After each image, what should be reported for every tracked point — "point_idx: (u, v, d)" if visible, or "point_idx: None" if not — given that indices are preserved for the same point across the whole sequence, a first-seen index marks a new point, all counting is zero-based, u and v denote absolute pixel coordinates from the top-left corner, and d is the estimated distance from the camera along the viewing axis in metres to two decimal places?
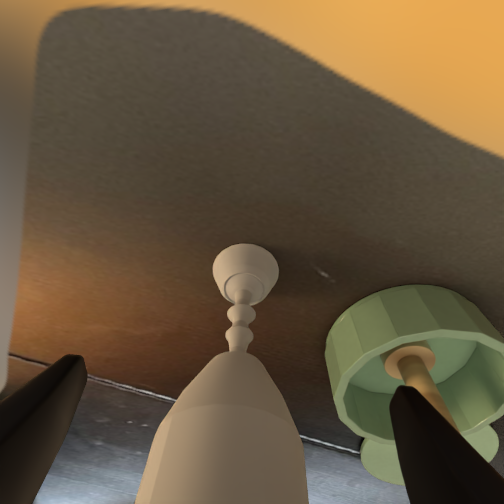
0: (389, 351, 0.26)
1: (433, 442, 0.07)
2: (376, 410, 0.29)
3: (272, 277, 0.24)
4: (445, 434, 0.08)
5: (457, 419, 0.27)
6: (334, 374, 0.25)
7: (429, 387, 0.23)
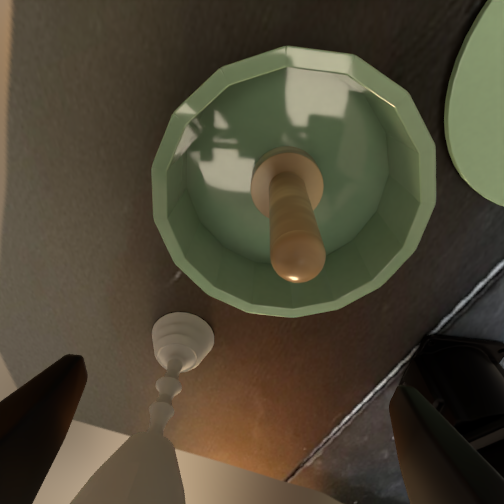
0: None
1: (433, 442, 0.07)
2: (384, 225, 0.18)
3: (173, 326, 0.24)
4: (445, 434, 0.08)
5: (393, 116, 0.14)
6: None
7: (269, 210, 0.15)
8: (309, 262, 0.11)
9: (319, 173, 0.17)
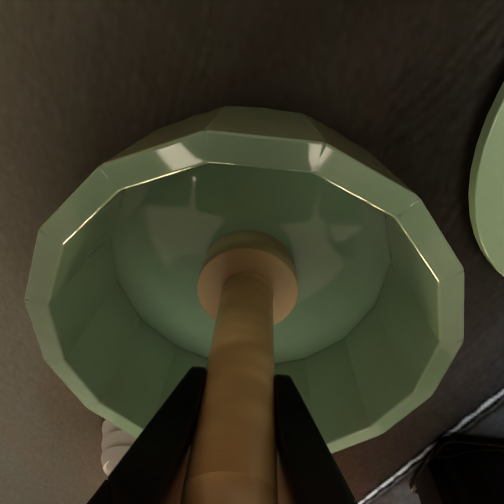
0: None
1: (283, 428, 0.07)
2: (386, 337, 0.13)
3: (122, 433, 0.20)
4: (297, 420, 0.08)
5: (394, 219, 0.09)
6: None
7: (210, 350, 0.10)
8: None
9: (291, 273, 0.12)
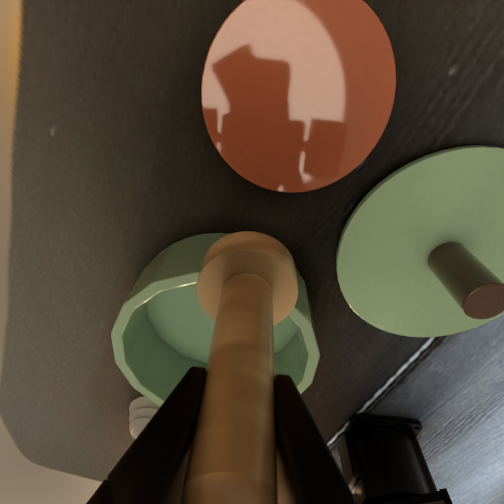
0: None
1: (283, 428, 0.07)
2: (297, 351, 0.24)
3: (144, 410, 0.30)
4: (298, 421, 0.08)
5: None
6: None
7: None
8: None
9: (290, 274, 0.12)
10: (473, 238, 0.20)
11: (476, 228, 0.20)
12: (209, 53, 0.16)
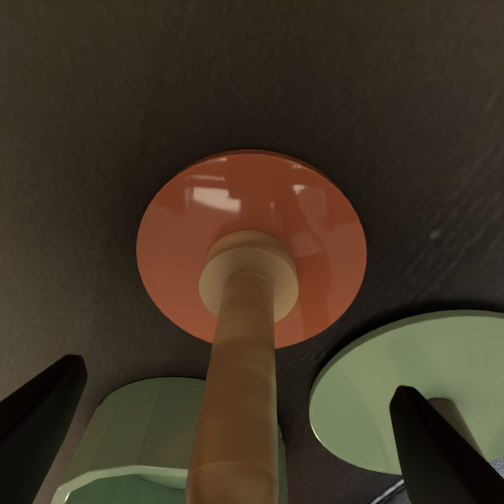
0: None
1: (433, 442, 0.07)
2: None
3: None
4: (445, 434, 0.08)
5: None
6: None
7: (212, 346, 0.10)
8: None
9: (291, 272, 0.12)
10: (463, 395, 0.17)
11: (466, 386, 0.17)
12: (141, 225, 0.13)
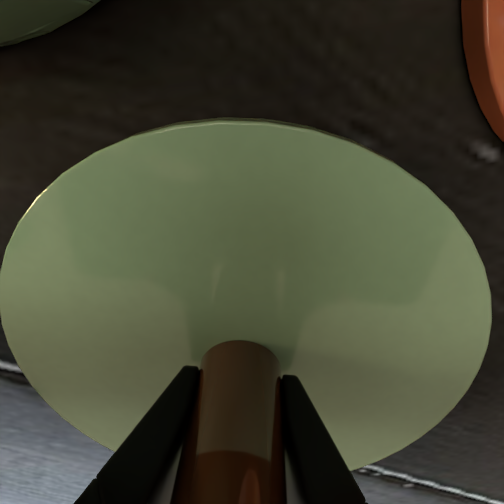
0: None
1: (291, 429, 0.07)
2: None
3: None
4: (306, 421, 0.08)
5: None
6: None
7: None
8: None
9: None
10: None
11: (309, 394, 0.10)
12: None
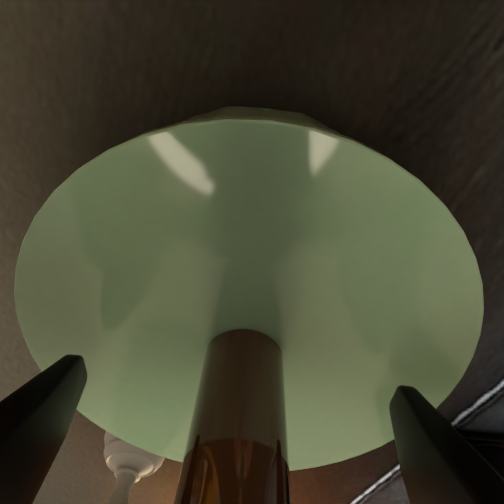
0: None
1: (433, 442, 0.07)
2: None
3: None
4: (445, 434, 0.08)
5: None
6: None
7: None
8: None
9: None
10: (289, 383, 0.11)
11: (309, 382, 0.11)
12: None
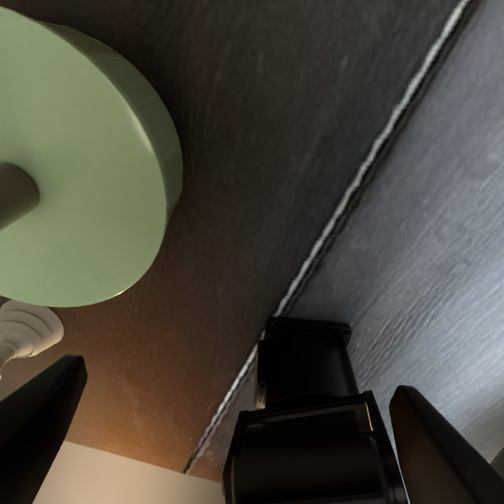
0: None
1: (433, 442, 0.07)
2: None
3: (8, 313, 0.24)
4: (445, 434, 0.08)
5: None
6: None
7: None
8: None
9: None
10: (52, 212, 0.15)
11: (66, 211, 0.15)
12: None
